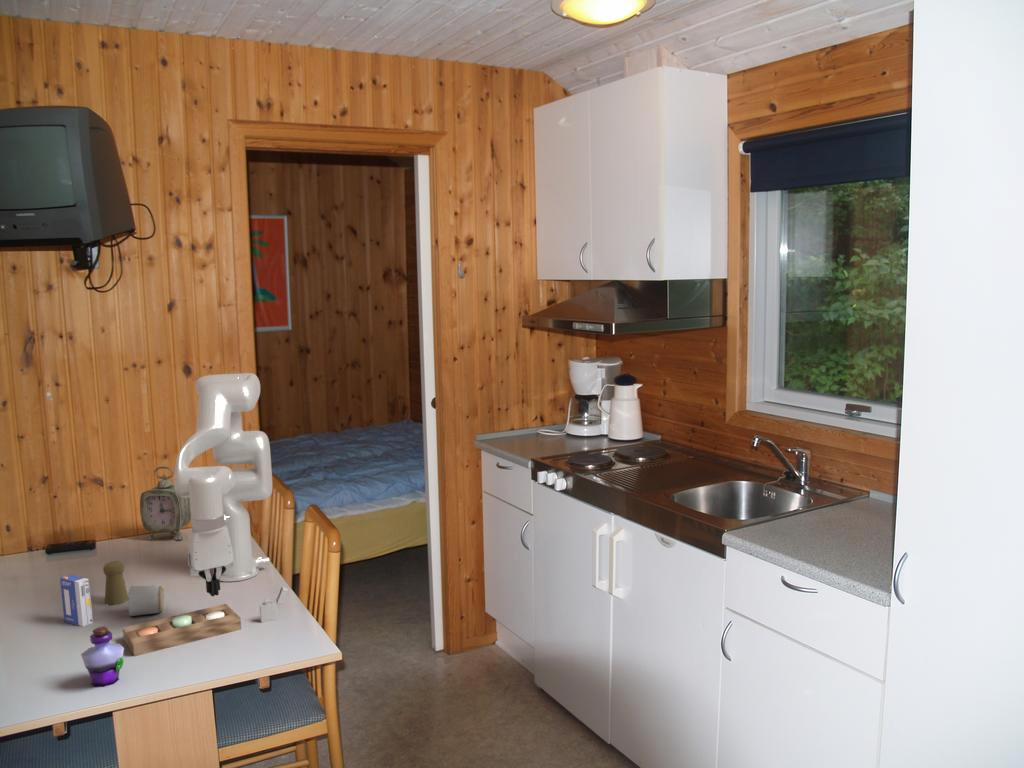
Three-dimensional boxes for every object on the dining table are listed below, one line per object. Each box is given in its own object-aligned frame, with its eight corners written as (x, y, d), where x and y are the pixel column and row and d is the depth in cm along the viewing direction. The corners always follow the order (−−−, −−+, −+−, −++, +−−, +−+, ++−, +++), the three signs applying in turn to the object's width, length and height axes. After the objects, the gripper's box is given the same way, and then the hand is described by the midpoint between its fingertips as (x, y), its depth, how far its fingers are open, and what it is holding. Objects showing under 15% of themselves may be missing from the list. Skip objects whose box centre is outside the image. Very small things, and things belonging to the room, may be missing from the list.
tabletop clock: (142, 541, 298) (136, 469, 295) (157, 533, 307) (151, 463, 304) (182, 542, 296) (176, 469, 293) (196, 534, 305) (190, 463, 302)
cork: (119, 605, 239) (115, 566, 237) (99, 604, 240) (96, 565, 238) (133, 597, 244) (129, 559, 243) (113, 596, 246) (110, 558, 244)
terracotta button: (156, 635, 216) (155, 625, 216) (160, 640, 212) (159, 631, 212) (136, 639, 213) (136, 630, 213) (141, 645, 210) (140, 636, 209)
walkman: (64, 621, 228) (59, 576, 227) (74, 617, 231) (69, 573, 229) (83, 626, 224) (78, 581, 223) (93, 622, 227) (88, 577, 225)
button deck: (226, 614, 229) (225, 603, 229) (241, 629, 219) (240, 617, 219) (123, 639, 215) (122, 627, 215) (134, 656, 205) (133, 643, 205)
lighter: (261, 622, 223) (259, 592, 222) (260, 620, 225) (258, 590, 224) (289, 617, 226) (287, 587, 225) (288, 615, 228) (286, 585, 227)
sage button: (189, 623, 220) (188, 613, 220) (194, 628, 217) (193, 619, 216) (171, 627, 218) (170, 618, 217) (175, 633, 214) (174, 623, 214)
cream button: (221, 619, 225) (221, 610, 224) (227, 624, 221) (226, 615, 221) (204, 623, 222) (203, 614, 222) (209, 628, 219) (208, 619, 218)
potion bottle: (124, 686, 190) (119, 633, 188) (80, 693, 187) (74, 639, 186) (129, 669, 198) (124, 618, 197) (87, 676, 196) (82, 624, 194)
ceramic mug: (162, 616, 230) (160, 587, 229) (128, 620, 228) (126, 591, 227) (167, 603, 240) (164, 575, 239) (134, 607, 238) (132, 579, 237)
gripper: (233, 514, 226) (238, 583, 228) (172, 525, 218) (179, 596, 220) (242, 520, 220) (248, 591, 222) (180, 532, 211) (187, 606, 214)
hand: (213, 594), depth 221 cm, fingers closed
